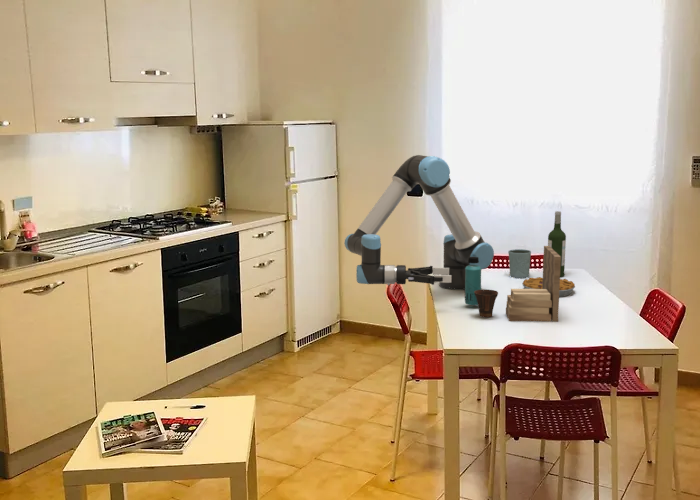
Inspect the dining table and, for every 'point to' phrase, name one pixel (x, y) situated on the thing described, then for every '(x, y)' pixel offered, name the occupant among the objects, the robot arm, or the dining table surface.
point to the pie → (537, 283)
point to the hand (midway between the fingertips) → (450, 275)
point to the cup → (485, 302)
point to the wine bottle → (558, 241)
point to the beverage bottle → (472, 281)
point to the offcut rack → (538, 294)
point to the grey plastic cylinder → (519, 263)
